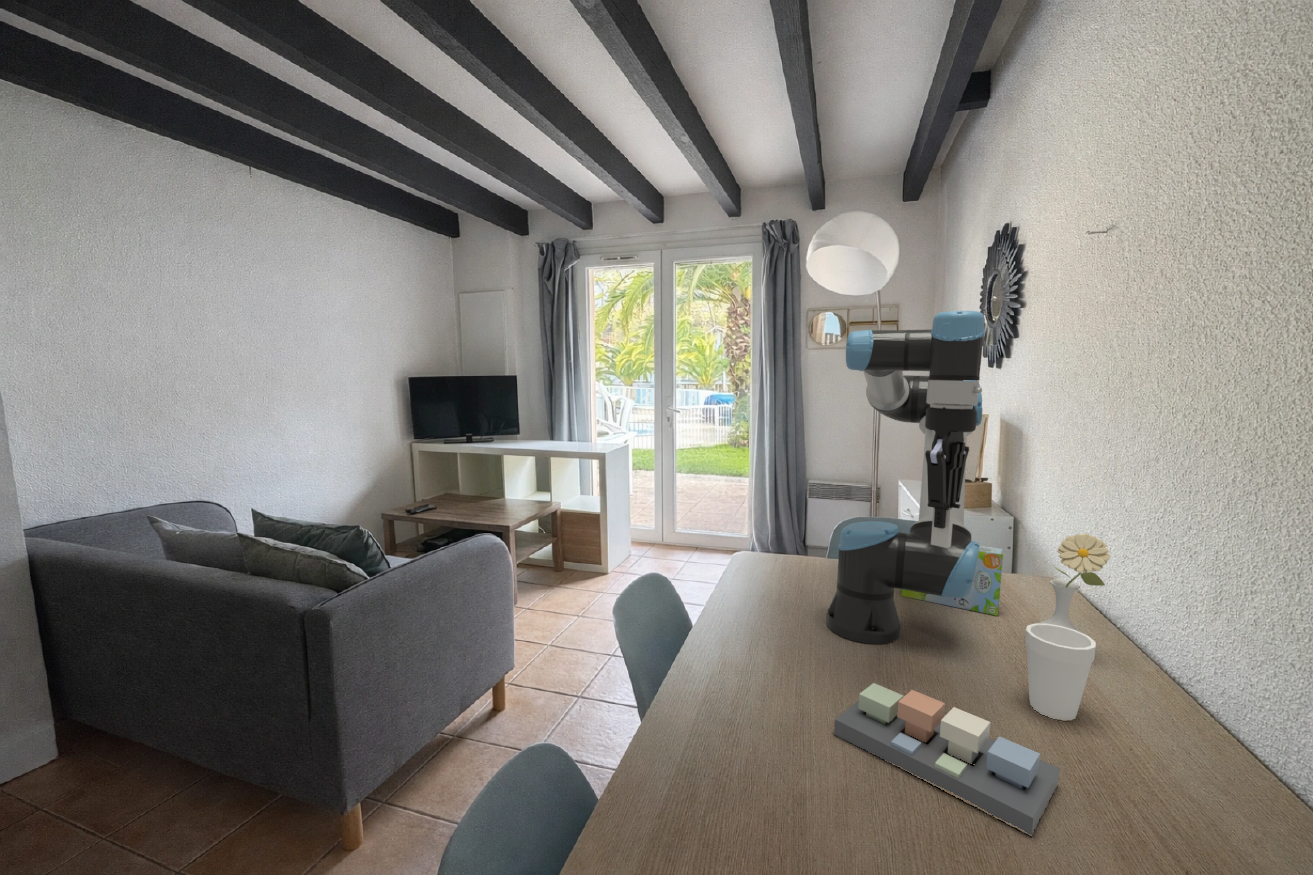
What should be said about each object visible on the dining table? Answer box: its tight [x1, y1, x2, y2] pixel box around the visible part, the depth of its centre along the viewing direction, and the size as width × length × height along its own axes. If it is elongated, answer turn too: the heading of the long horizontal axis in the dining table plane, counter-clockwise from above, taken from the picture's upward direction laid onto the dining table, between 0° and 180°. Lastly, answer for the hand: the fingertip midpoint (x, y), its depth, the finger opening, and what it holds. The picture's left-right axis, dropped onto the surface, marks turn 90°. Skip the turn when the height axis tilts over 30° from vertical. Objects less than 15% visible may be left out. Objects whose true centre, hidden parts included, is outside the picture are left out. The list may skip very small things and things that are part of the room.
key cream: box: [940, 706, 991, 765], centre depth 79 cm, size 5×5×5 cm
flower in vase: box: [1039, 533, 1111, 633], centre depth 114 cm, size 13×11×25 cm
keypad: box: [833, 700, 1061, 836], centre depth 82 cm, size 26×13×3 cm, turn 43°
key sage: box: [858, 682, 904, 725], centre depth 88 cm, size 5×5×5 cm
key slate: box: [986, 736, 1041, 791], centre depth 75 cm, size 5×5×5 cm
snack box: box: [900, 545, 1004, 617], centre depth 138 cm, size 21×6×15 cm, turn 58°
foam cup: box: [1024, 622, 1097, 720], centre depth 94 cm, size 10×9×13 cm
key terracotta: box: [897, 689, 946, 744], centre depth 83 cm, size 5×5×5 cm
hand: (940, 545), depth 96 cm, fingers closed
